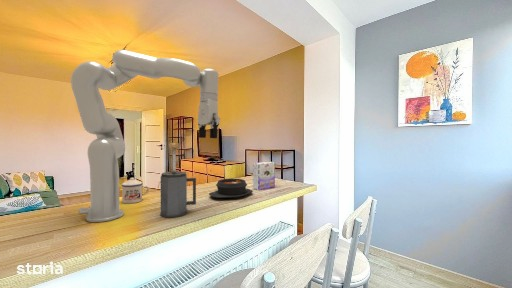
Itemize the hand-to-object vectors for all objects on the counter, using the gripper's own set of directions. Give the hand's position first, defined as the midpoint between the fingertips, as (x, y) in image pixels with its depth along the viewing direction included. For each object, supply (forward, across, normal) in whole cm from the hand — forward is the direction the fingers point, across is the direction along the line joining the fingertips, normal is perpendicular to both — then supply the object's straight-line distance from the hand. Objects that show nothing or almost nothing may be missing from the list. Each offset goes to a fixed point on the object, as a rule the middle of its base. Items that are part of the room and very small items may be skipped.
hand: (207, 137), depth 100 cm
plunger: (+23, -4, -12) cm, 27 cm away
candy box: (+31, -15, +50) cm, 61 cm away
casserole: (+32, -13, +23) cm, 41 cm away
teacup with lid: (+33, -35, -20) cm, 52 cm away
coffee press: (+32, -4, -11) cm, 34 cm away
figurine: (+32, -24, -8) cm, 41 cm away
